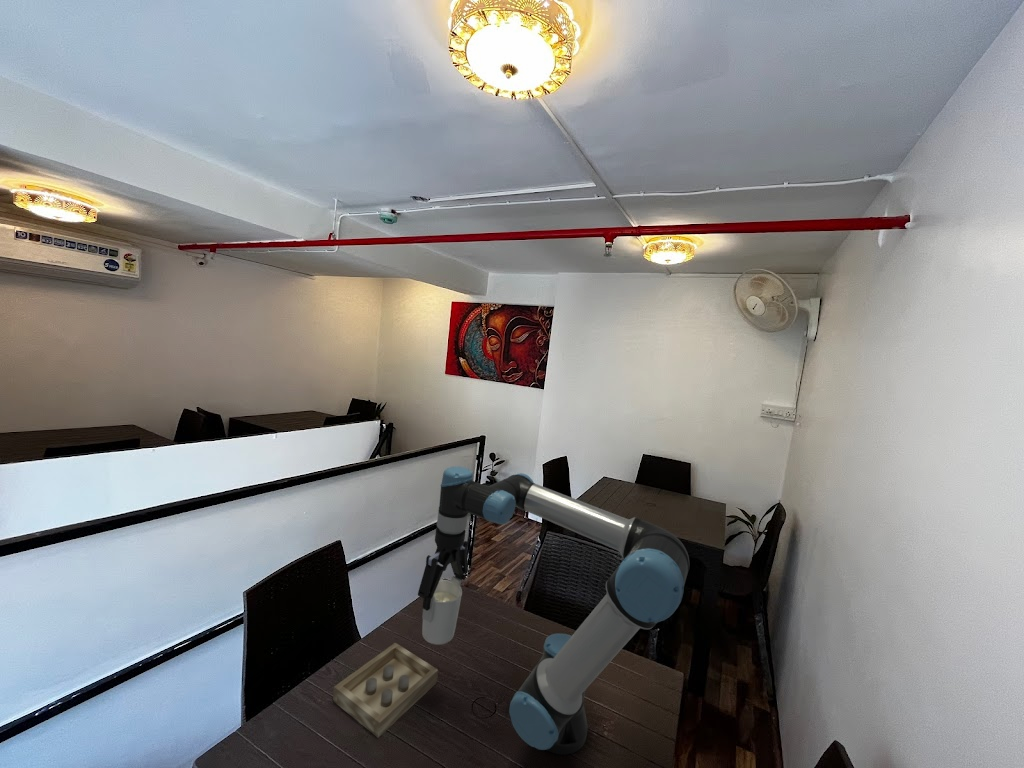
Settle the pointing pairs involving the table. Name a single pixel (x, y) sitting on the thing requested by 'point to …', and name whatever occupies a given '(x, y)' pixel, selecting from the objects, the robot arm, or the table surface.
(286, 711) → the table surface
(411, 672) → the peg frame
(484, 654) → the table surface
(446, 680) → the table surface
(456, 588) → the candle holder
